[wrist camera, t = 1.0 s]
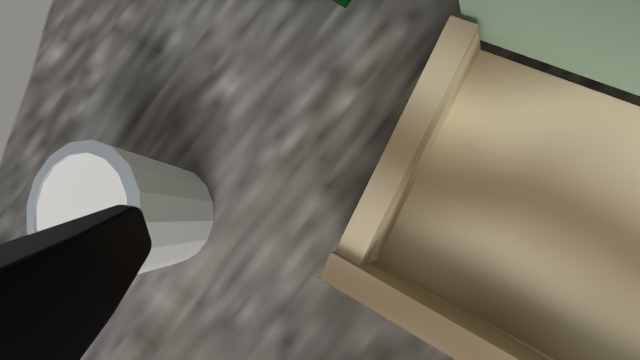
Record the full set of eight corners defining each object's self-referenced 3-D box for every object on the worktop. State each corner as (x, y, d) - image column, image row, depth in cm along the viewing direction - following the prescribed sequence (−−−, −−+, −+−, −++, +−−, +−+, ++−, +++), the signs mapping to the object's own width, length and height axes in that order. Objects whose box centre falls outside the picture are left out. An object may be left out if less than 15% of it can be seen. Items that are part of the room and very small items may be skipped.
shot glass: (157, 137, 30) (61, 114, 23) (243, 191, 27) (164, 182, 21) (109, 235, 30) (3, 239, 24) (189, 296, 28) (96, 319, 22)
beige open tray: (846, 550, 18) (971, 668, 13) (352, 267, 25) (318, 278, 20) (1026, 259, 17) (1229, 273, 12) (458, 51, 24) (448, 10, 19)
